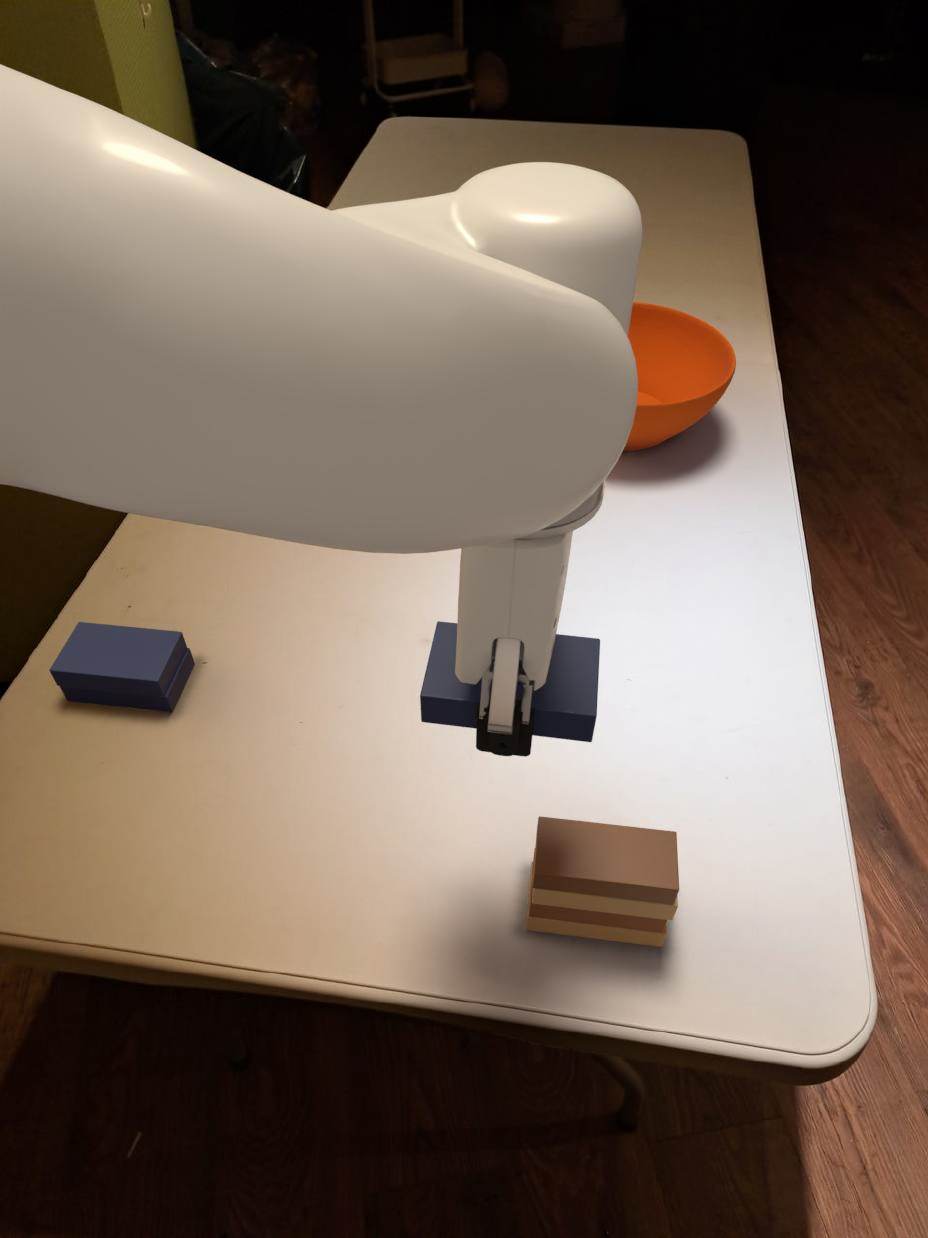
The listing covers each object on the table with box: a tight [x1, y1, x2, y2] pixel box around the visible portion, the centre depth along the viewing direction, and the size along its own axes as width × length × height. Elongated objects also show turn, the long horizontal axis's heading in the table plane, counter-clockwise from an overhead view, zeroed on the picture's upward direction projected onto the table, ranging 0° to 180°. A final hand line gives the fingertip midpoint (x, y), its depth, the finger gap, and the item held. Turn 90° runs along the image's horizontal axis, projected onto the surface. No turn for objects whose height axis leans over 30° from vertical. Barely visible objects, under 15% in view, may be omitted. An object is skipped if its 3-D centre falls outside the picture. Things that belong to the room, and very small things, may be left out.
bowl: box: [622, 301, 737, 452], centre depth 107 cm, size 25×25×10 cm
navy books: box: [49, 621, 196, 713], centre depth 79 cm, size 10×6×4 cm, turn 83°
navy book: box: [419, 620, 601, 743], centre depth 51 cm, size 10×6×2 cm, turn 82°
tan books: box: [525, 816, 680, 948], centre depth 62 cm, size 10×4×9 cm, turn 83°
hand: (509, 703), depth 53 cm, fingers closed on navy book, 6 cm apart
